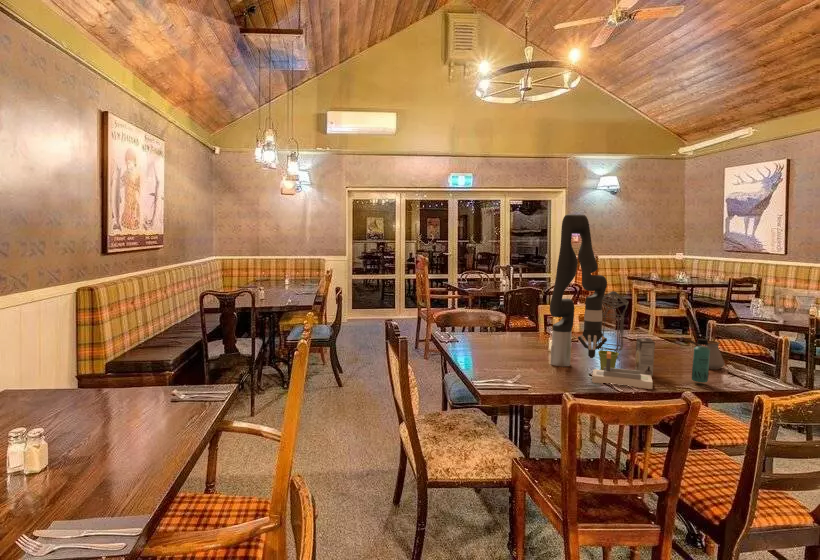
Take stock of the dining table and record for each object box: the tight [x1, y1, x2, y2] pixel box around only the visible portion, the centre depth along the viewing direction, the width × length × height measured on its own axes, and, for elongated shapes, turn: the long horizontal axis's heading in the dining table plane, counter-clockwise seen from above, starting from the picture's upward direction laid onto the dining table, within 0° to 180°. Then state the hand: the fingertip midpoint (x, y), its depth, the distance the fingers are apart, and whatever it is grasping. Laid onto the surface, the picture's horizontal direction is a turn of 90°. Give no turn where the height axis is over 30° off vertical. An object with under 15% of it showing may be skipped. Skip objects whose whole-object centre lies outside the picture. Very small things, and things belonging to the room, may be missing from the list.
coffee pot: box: [679, 336, 726, 370], centre depth 253 cm, size 21×12×15 cm, turn 87°
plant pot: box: [597, 350, 620, 370], centre depth 244 cm, size 9×9×9 cm
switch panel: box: [591, 367, 653, 390], centre depth 224 cm, size 24×12×5 cm, turn 68°
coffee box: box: [634, 337, 656, 377], centre depth 240 cm, size 9×6×16 cm
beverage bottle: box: [691, 338, 710, 383], centre depth 223 cm, size 6×7×20 cm
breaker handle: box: [605, 350, 612, 372], centre depth 226 cm, size 3×6×9 cm, turn 158°
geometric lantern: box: [596, 291, 630, 353], centre depth 276 cm, size 16×16×35 cm
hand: (591, 357), depth 228 cm, fingers closed
